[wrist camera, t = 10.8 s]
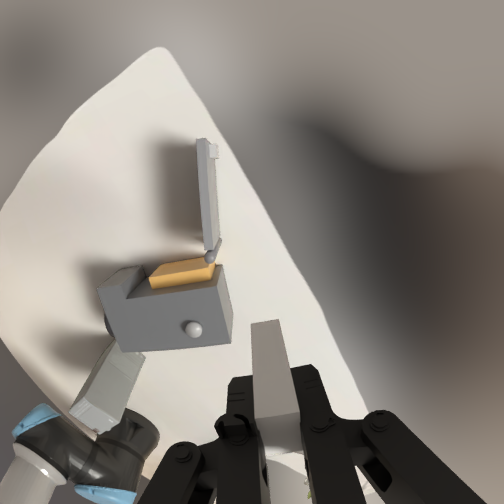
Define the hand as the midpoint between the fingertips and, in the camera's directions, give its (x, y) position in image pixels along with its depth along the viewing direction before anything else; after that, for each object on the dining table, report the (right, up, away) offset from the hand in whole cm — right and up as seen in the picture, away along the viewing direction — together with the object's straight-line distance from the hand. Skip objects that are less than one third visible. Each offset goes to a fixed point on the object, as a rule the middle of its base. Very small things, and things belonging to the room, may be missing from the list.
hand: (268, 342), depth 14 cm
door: (-6, +13, +21) cm, 26 cm away
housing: (-13, 0, +25) cm, 28 cm away
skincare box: (-24, -14, +29) cm, 40 cm away
